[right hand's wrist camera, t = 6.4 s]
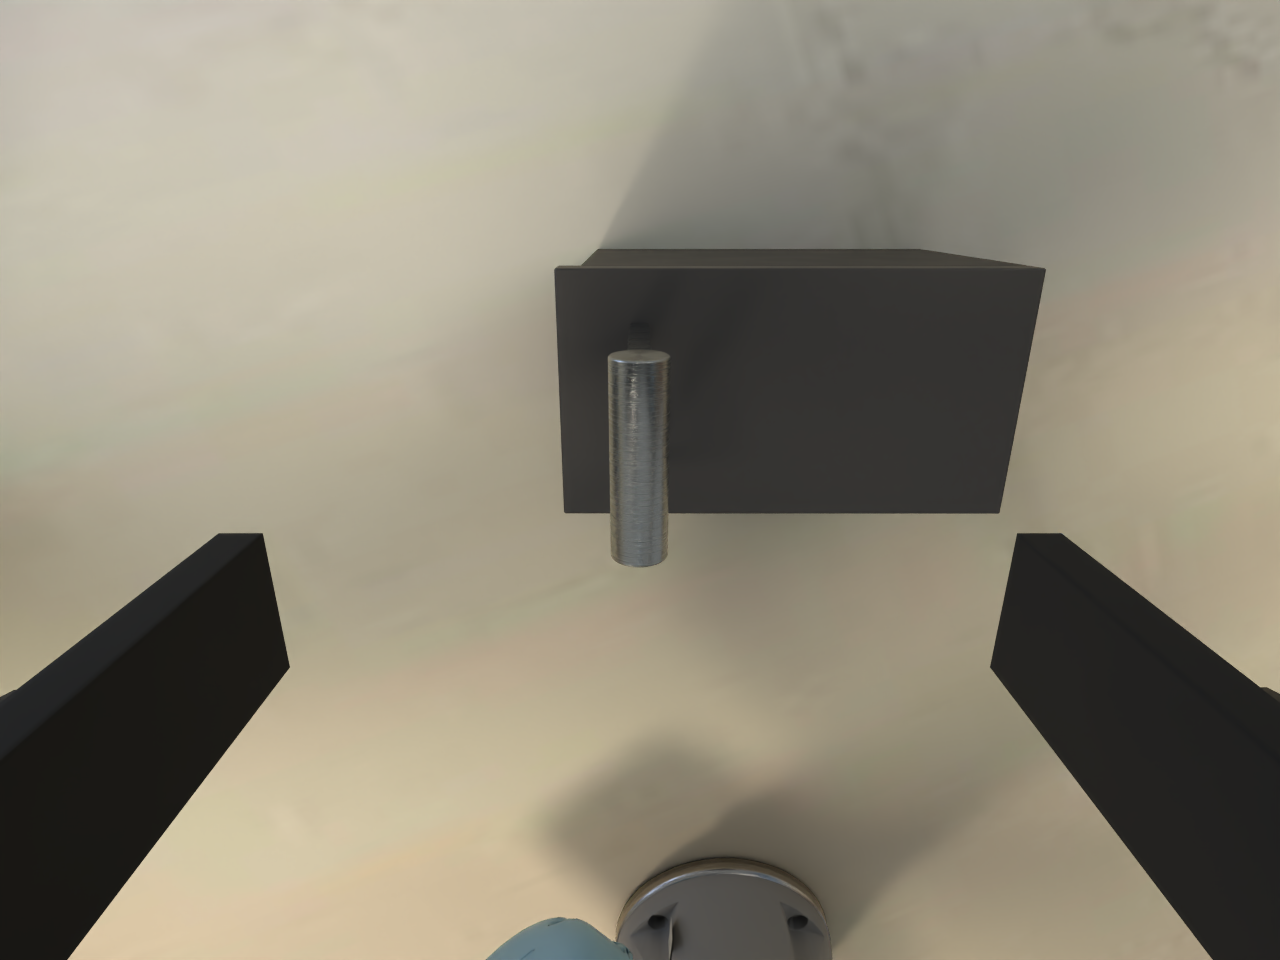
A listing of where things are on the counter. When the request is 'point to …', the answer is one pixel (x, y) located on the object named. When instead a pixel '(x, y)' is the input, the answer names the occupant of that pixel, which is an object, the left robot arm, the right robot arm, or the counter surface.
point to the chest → (782, 257)
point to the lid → (787, 390)
